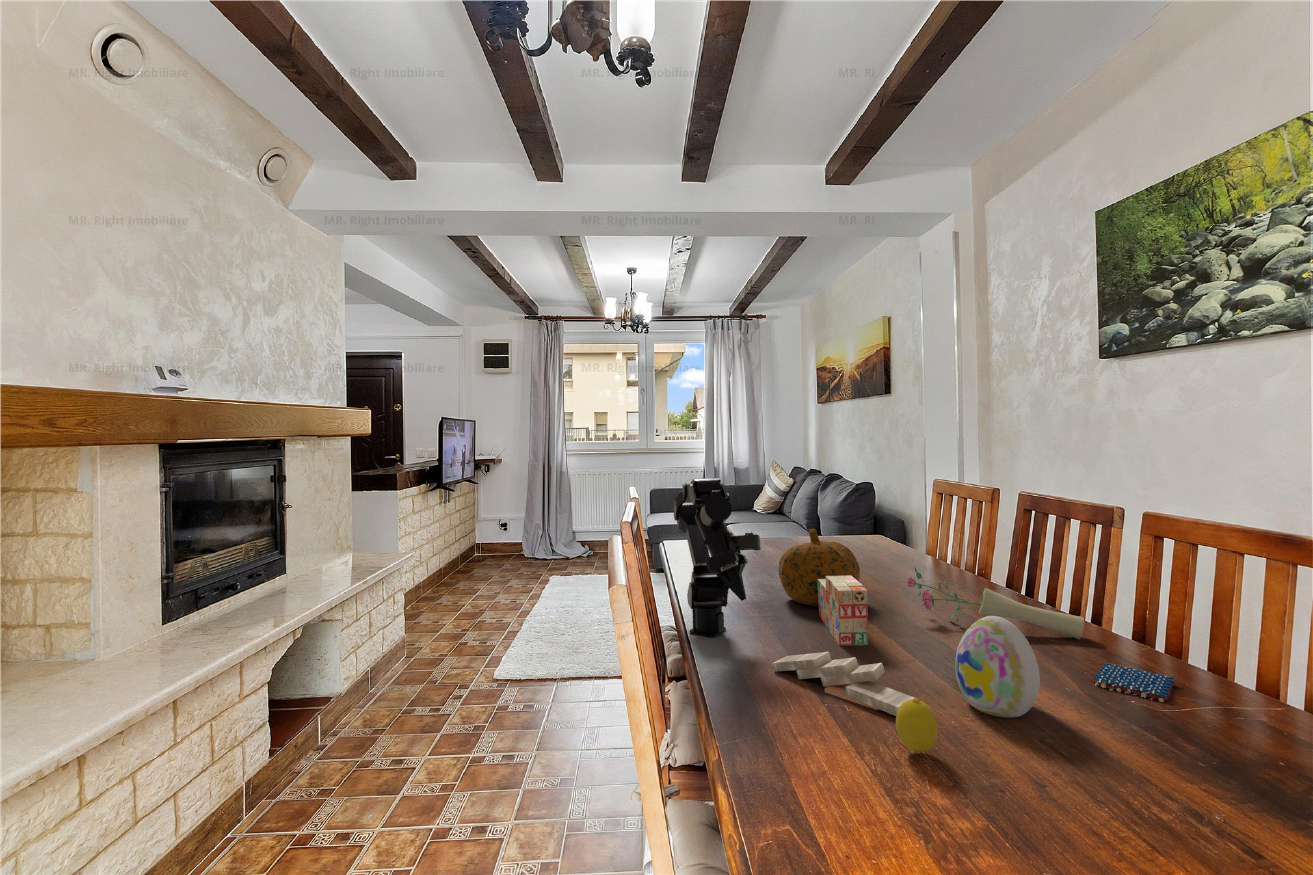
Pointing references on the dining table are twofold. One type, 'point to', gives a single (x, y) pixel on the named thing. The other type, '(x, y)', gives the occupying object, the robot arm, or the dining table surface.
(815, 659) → the domino
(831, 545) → the decorative pumpkin
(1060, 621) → the flower vase
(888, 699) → the domino
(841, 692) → the domino
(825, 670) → the domino
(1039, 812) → the dining table surface
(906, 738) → the lemon
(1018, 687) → the decorative egg
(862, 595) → the stack of blocks
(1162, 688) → the woven mat
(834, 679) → the domino
